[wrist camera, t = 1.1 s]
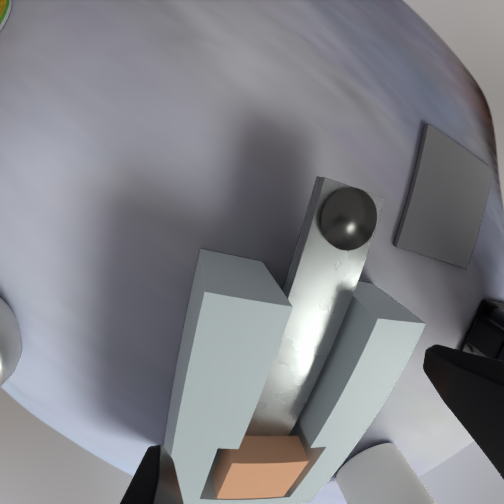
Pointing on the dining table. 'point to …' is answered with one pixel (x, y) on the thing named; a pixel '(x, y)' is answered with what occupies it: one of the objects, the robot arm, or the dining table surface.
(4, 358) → the plastic bottle
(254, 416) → the lever
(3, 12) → the supplement bottle
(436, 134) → the pad
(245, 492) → the tile
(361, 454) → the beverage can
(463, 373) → the robot arm
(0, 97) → the dining table surface
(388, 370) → the grey-green channel block
